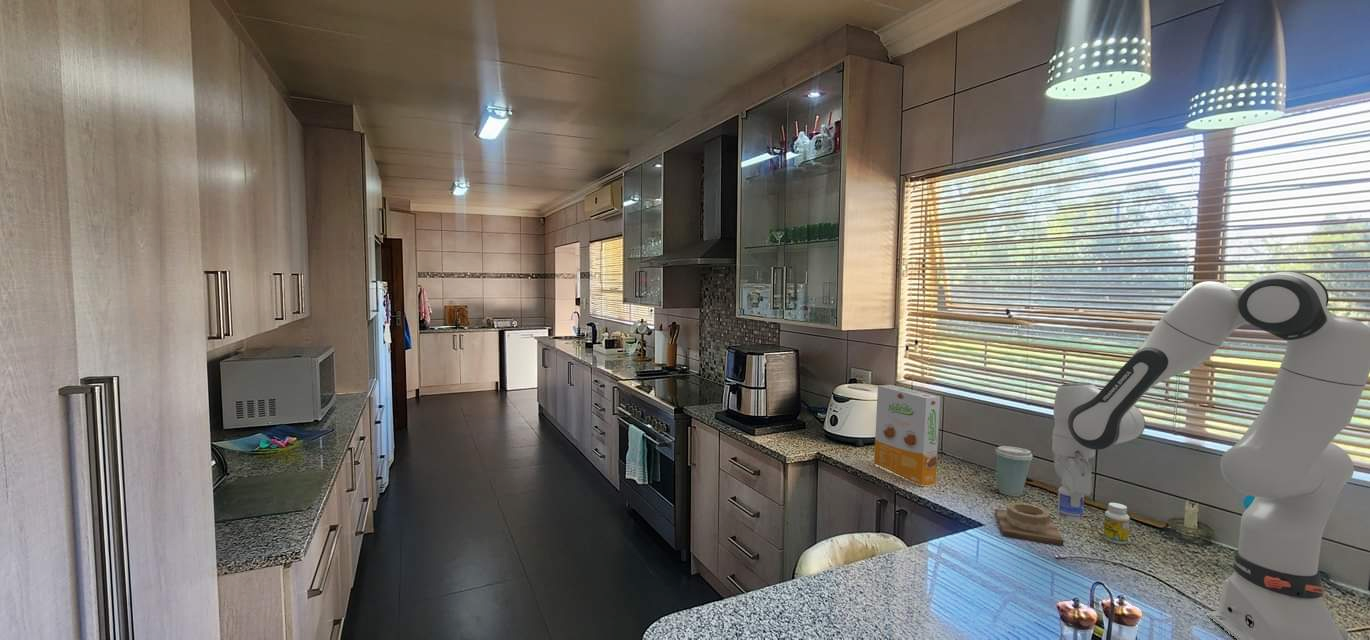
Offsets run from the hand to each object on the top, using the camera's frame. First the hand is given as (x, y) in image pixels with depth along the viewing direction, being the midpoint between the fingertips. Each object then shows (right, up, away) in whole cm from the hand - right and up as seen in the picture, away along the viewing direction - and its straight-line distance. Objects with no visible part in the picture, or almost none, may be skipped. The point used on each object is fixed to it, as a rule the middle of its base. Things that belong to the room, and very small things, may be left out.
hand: (1070, 501), depth 144 cm
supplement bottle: (+19, -14, +11) cm, 26 cm away
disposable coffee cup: (+10, -11, +44) cm, 46 cm away
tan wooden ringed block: (-1, -13, +17) cm, 21 cm away
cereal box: (-19, -10, +59) cm, 63 cm away
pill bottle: (0, -5, 0) cm, 5 cm away
